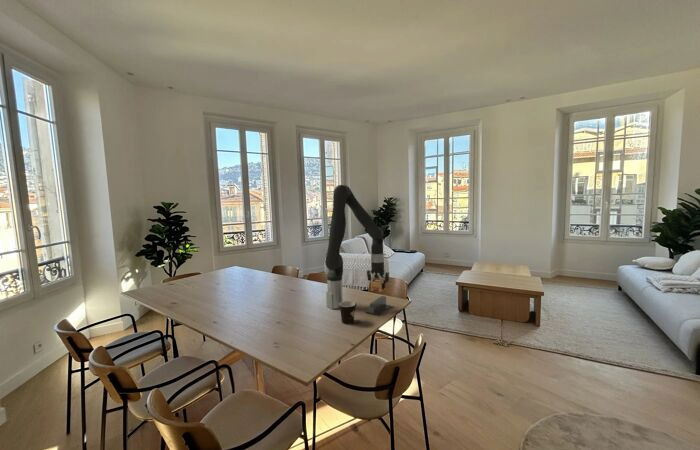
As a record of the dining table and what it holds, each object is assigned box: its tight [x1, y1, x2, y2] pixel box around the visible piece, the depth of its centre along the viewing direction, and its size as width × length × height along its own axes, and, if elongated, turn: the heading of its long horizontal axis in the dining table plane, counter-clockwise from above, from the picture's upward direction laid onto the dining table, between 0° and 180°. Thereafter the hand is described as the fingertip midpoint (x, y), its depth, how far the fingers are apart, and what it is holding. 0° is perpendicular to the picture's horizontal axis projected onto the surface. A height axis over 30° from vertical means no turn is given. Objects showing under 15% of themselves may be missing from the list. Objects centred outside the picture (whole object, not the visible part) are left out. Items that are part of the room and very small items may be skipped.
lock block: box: [370, 279, 386, 293], centre depth 181 cm, size 7×6×5 cm
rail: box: [364, 295, 392, 316], centre depth 182 cm, size 16×9×6 cm, turn 148°
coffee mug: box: [339, 300, 357, 325], centre depth 166 cm, size 12×9×10 cm
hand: (378, 288), depth 181 cm, fingers closed on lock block, 6 cm apart
